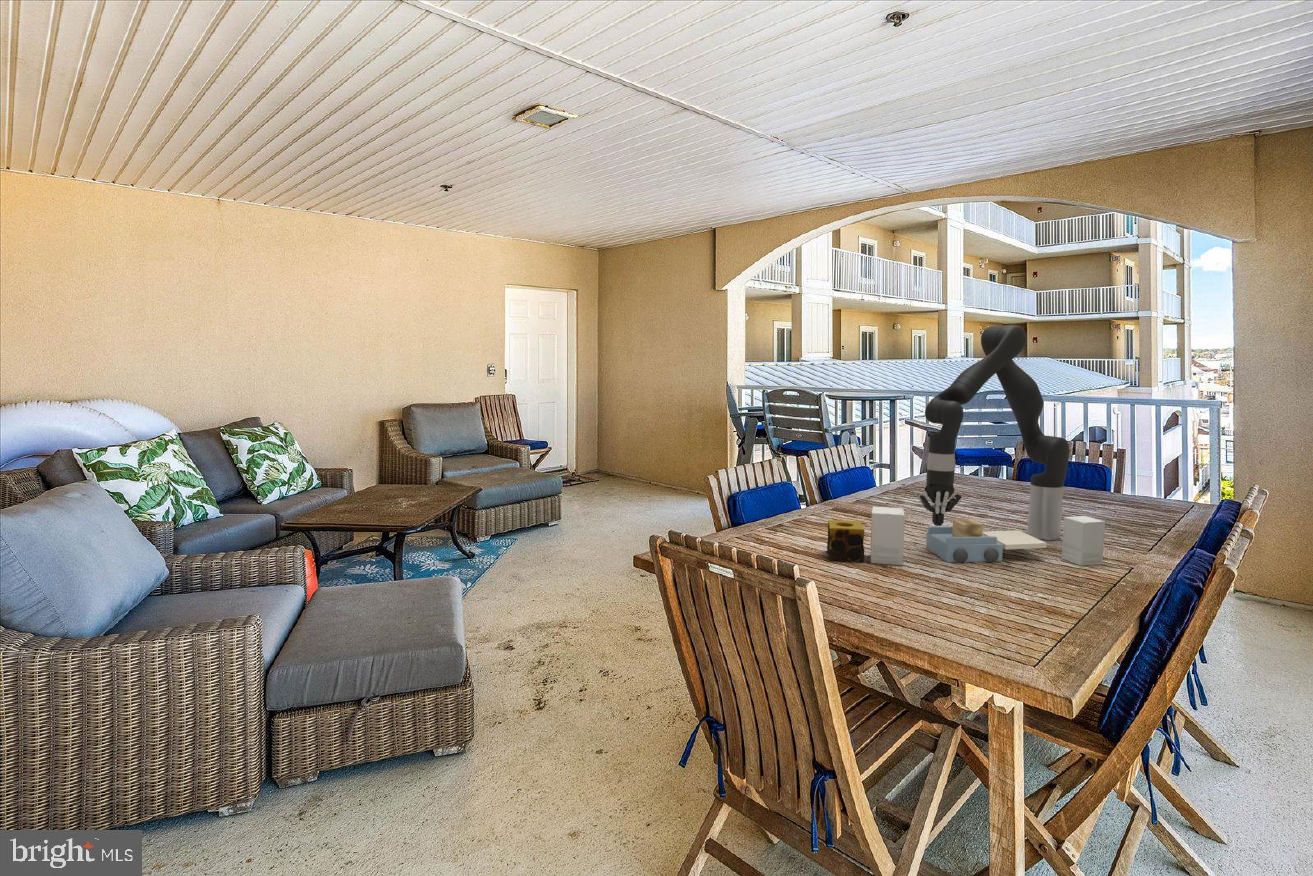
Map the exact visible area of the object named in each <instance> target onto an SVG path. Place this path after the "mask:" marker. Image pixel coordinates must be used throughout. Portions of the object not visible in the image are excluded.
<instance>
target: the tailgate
mask: <svg viewBox="0 0 1313 876" xmlns="http://www.w3.org/2000/svg"><path fill="white" fill-rule="evenodd" d="M982 534H983V535H985V536H987V537H989V536H995V537H997V542H999V543H1001V544H1003V549H1005V550H1025V549H1026V550H1027V549H1044V548H1045V549H1046V548H1048V547H1047V545H1048V544H1047V542H1045V541H1044V540H1042V539H1037V538H1034V537H1032V536H1030V535H1028V534H1027V532H1026V533H1025V532H1024V531H1021V530H1020V529H1017V530H1015V529H1014V530H996V531H994V530H993V531H992V530H991V531H983V532H982Z"/></svg>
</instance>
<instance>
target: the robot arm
mask: <svg viewBox="0 0 1313 876" xmlns="http://www.w3.org/2000/svg"><path fill="white" fill-rule="evenodd" d="M1026 344H1027V334H1026V331H1025V329H1024V328H1023V327H1021V326H1020V325H1017V324H1009V325H1006V324H1005V325H1004V324H1003V325H992V326H988V327H986V328H985V329H984V330H982V333H981V336H980V345H981V348H982V351H983V353H984V355H985V357H983V358H982V359H980V360H979V361H976V362H974V363H973V364H972V365H970V366H968V367H967V368H966V369H964V370H963V371H962V372H961V373H960V374H959V375H958V376H957V377H956V378H955V380H953V382H952V383H951V384H950V386H948V387H947V388H946V389H944V390H942V391H941V392H940V393H938V394H937V395H936V396H934V397H933V398H932V399H931V400H930V401H928V403H927V405H926V407H925V409H924V417H925V418H926V421H928V422H930V423H932V424H935V425H941V427H940V430H939V431H935V432H933V433H931V434H930V436H929V439H928V440H929V443H928V455H927V464H926V476H925V477H926V478H925V479H926V480H925V482H926V484H925V485H926V486H925V487H924V491H923V492H921V493H917V496H916V497H917V499H918V500H919V501H920V502H921V504H922V505H923V507H924V508H925V509H926V511H929V512H931V514H932V517H931V518H932V519H931V522H932V524H933V526H935V527H937V526H943V525H944V522H945V521H944V519H945V514H946V513H947V512H949V513H950V512H951V511H952V510H953V509H954V508H955V506H956V505H957V504H958V503H959V502H960V500H962V495H960V494H959V493H957V492H956V491H955V488H954V483H955V473H956V472H955V471H956V456H955V455H956V454H955V453H956V440H957V437H958V434H959V431H960V428H961V426H962V423H963V420H964V409H963V407H962V406H963V405H966V404H969V402H970V401H971V400H972V399H973V398H974V397H975V396H976V395H977V393H978V392H979V391H980V389H981V388H982V387H983V386H984V385H985V384H986V383H987V382H988V381H989V380H990V379H991V378H992V377H993V376H995V374H996V376H997V378H998V381H999V383H1000V385H1001V387H1002V389H1003V392H1004V394H1005V395H1004V396H1005V397H1006V399H1007V402H1008V405H1009V407H1010V409H1011V411H1012V414H1013V416H1014V418H1015V420H1016V423H1017V425H1018V428H1019V431H1020V435H1021V438H1022V442H1023V446H1024V448H1025V449H1024V450H1025V452H1026V455H1027V456H1028V458H1029V460H1031V462H1034V463H1037V464H1042V465H1046V466H1045V469H1044V471H1043V472H1040V473H1035V474H1033V475H1031V477H1030V485H1029V486H1030V488H1029V489H1030V490H1029V501H1028V502H1029V506H1028V519H1027V532H1026V534H1028V535H1030V536H1032V537H1034V538H1037V539H1039V540H1042V541H1044V540H1045V541H1057V540H1060V538H1061V523H1062V511H1063V510H1062V509H1063V498H1064V496H1063V495H1064V484H1065V480H1066V478H1067V475H1068V473H1067V472H1068V466H1069V458H1070V445H1069V442H1068V441H1067V439H1066V438H1064V437H1061V436H1052V435H1045V434H1044V433H1043V432H1042V430H1041V427H1040V425H1039V419H1040V417H1041V415H1042V411H1043V408H1044V399H1043V395H1042V392H1041V391H1040V388H1039V385H1038V384H1037V382H1036V381H1035V380H1034V378H1032V376H1031V375H1029V374H1028V373H1027V372H1026V371H1024V369H1022V367H1020V366H1019V364H1016V362H1015V361H1014V359H1015V358H1016V357H1017V356H1018V355H1019V354H1020V353H1021V352H1022V351H1023V350H1024V349H1025V347H1026ZM928 498H929V499H930V501H928Z"/></svg>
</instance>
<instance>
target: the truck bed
mask: <svg viewBox="0 0 1313 876" xmlns="http://www.w3.org/2000/svg"><path fill="white" fill-rule="evenodd" d="M952 529H953V525H951V526H949V525H947V526H945V525H944V526H943V525H942V526H927V532H926V541H925V542H926V545H925V546H926V547H925V548H926V549H927V550H928V551H930V552H931V553H933V554H934V555H936V556H938V557H939V558H940V559H942V560H943V561H945V562H946V563H959V564H963V563H976V562H977V563H978V562H979V563H980V562H981V563H983V562H985V563H987V562H989V563H994V562H1002V561H1003V551H1004V550H1003V549H1004V548H1003V544H1001V543H999V542H997V537H995V536H989V537H987V536H985V535H983V534H982V537H954V536H952Z"/></svg>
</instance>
